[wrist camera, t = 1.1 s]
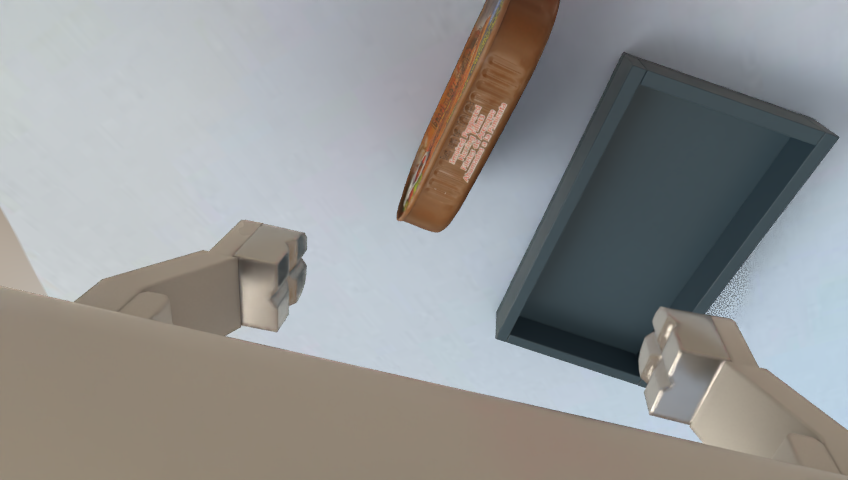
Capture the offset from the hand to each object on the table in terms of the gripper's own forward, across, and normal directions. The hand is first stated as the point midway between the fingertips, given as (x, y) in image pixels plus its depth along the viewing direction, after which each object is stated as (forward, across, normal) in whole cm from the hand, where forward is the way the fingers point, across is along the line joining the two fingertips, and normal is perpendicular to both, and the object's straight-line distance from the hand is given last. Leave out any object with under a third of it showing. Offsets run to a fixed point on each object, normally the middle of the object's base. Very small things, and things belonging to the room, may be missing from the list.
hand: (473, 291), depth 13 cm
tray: (+24, -10, +9) cm, 27 cm away
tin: (+23, +2, +1) cm, 23 cm away
